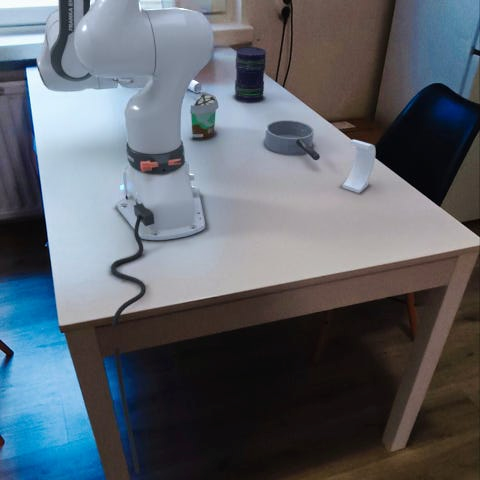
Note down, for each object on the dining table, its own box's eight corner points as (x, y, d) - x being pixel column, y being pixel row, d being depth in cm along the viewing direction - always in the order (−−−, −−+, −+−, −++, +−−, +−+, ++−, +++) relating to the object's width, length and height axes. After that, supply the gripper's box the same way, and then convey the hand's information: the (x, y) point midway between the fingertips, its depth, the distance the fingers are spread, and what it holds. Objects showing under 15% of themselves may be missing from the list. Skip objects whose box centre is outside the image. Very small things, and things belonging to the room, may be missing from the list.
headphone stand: (341, 187, 121) (350, 140, 113) (352, 178, 124) (361, 132, 117) (359, 193, 119) (369, 146, 111) (369, 184, 122) (379, 137, 115)
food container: (212, 144, 138) (212, 108, 131) (191, 141, 138) (190, 106, 132) (222, 127, 147) (222, 93, 141) (202, 125, 148) (202, 91, 141)
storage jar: (247, 104, 162) (250, 46, 151) (228, 96, 168) (229, 39, 157) (269, 98, 168) (273, 41, 156) (250, 90, 173) (252, 35, 162)
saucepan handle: (320, 161, 125) (321, 154, 124) (314, 162, 125) (315, 155, 124) (300, 142, 134) (301, 136, 133) (294, 143, 133) (295, 137, 132)
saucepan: (319, 151, 136) (322, 135, 133) (276, 157, 132) (277, 141, 130) (299, 133, 146) (301, 118, 143) (258, 138, 142) (259, 122, 139)
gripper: (112, 69, 113) (171, 65, 117) (100, 45, 128) (152, 42, 132) (115, 96, 117) (172, 92, 121) (103, 70, 132) (154, 67, 136)
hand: (161, 66), depth 127 cm, fingers closed
